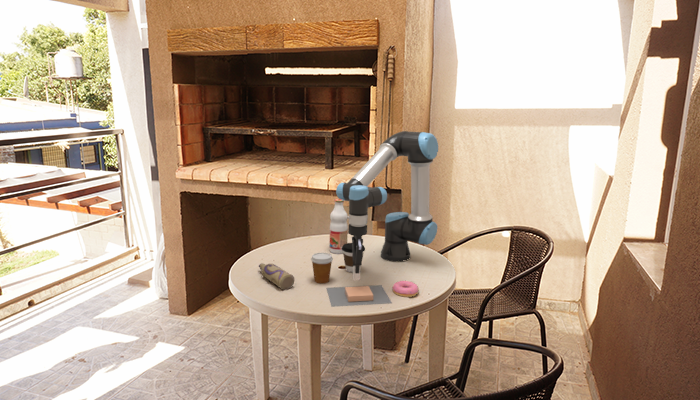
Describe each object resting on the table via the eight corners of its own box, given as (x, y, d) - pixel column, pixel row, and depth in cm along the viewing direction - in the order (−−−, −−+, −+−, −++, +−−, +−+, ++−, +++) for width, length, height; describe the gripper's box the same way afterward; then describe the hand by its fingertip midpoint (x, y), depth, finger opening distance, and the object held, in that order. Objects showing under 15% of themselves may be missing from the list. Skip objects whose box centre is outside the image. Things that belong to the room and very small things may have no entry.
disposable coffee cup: (324, 287, 191) (324, 261, 188) (306, 282, 196) (306, 256, 193) (336, 280, 199) (337, 255, 196) (319, 276, 204) (319, 250, 201)
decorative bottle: (295, 287, 191) (295, 273, 190) (280, 292, 187) (279, 277, 185) (268, 269, 211) (268, 255, 210) (253, 272, 207) (253, 258, 205)
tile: (368, 286, 186) (373, 295, 178) (368, 291, 187) (373, 301, 178) (344, 287, 185) (348, 296, 176) (344, 292, 185) (348, 302, 176)
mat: (381, 286, 194) (381, 285, 194) (392, 304, 177) (392, 303, 176) (326, 289, 190) (326, 287, 190) (331, 308, 173) (331, 306, 172)
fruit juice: (348, 253, 234) (349, 201, 228) (330, 254, 233) (331, 201, 227) (345, 248, 243) (346, 197, 237) (328, 248, 242) (329, 197, 236)
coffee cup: (336, 270, 211) (336, 245, 209) (352, 264, 219) (352, 240, 217) (353, 276, 204) (354, 251, 202) (369, 270, 212) (370, 246, 209)
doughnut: (386, 291, 189) (387, 282, 188) (405, 285, 195) (405, 276, 194) (405, 301, 180) (405, 291, 179) (424, 294, 187) (424, 285, 186)
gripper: (346, 220, 186) (345, 274, 191) (351, 228, 173) (349, 286, 178) (364, 219, 187) (362, 273, 192) (370, 228, 174) (368, 285, 179)
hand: (356, 279), depth 185 cm, fingers closed
